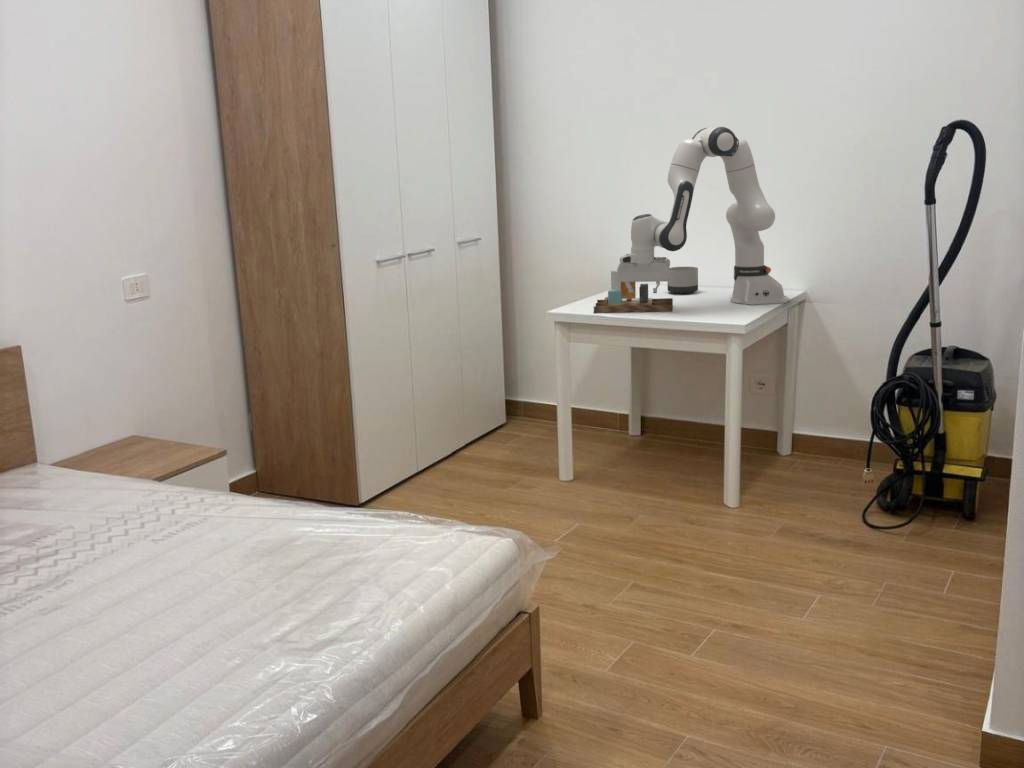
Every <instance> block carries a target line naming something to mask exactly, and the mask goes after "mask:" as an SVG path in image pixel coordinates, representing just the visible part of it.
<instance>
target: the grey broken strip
mask: <svg viewBox="0 0 1024 768" xmlns="http://www.w3.org/2000/svg"><path fill="white" fill-rule="evenodd" d="M639 287H647V290H648V291H649V283H640V285H639ZM652 299H653V297H648V301H652ZM634 301H640V297H636V298H632V300H631V302H634ZM622 302H627V298H623V299H622Z"/></svg>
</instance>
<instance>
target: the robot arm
mask: <svg viewBox="0 0 1024 768" xmlns="http://www.w3.org/2000/svg"><path fill="white" fill-rule="evenodd" d="M707 157H708V158H709V157H710V158H715V157H720V158H721V160H722V162H723V165H724V170H725V175H726V179H727V183H728V184H727V185H728V187H729V188H728V189H729V191H730V193H731V194H732V195H733V197H734V198H735V200H736V201H735V202H734V203H732V204H731V205H729V207H728V208H727V209H726V212H725V218H726V221H727V223H728V224H729V226H730V229H731V232H732V237H733V242H734V261H735V262H734V266H733V280H734V282H733V290H732V296H731V299H730V301H731V302H732V303H737V304H744V305H753V306H754V305H768V304H769V305H770V304H786V303H789V302H790V298H789V296H788V295H785V294H784V288H783V285H782V284H781V283H780V282H779V281H778V280H776V278H774V277H772V276H771V275H770V273H771V271H772V268H771V267H768V266H767V265H765V245H764V242H763V241H762V239H761V236H760V232H762V231H765V230H768V229H771V227H772V226H773V225H774V223H775V220H776V212H775V210H774V209H773V208H772V206H770V203H768V201H767V199H766V197H765V194H764V193H763V191H762V189H761V186H760V183H759V180H758V178H759V177H758V174H757V170H756V166H755V161H754V156H753V154H752V150H751V147H750V145H749V144H748V142H747V140H746V139H744V138H741V137H737V136H736V135H735V133H734V132H733V130H731V129H730V128H729V127H725V126H711V127H703V128H702V129H700V130H698V131H697V132H696V133H695V134H694V135H693V136H692V138H685V139H684V138H683V140H681V141H680V142H679V144H678V145H677V148H676V150H675V152H674V154H673V157H672V159H671V161H670V165H669V169H668V173H667V183H668V186H669V187H670V189H671V191H672V194H673V196H674V199H673V205H672V209H671V213H670V218H669V220H668V222H666V221H663V220H661V219H659V218H657V217H655V216H654V215H653V214H651V213H650V214H649V213H646V214H644V213H643V214H641V215H636V216H635V217H634V218H633V219H632V221H631V227H630V228H631V229H630V230H631V231H630V241H631V248H630V252H629V253H626V254H624V255H621V256H620V257H619V264H618V266H617V269H616V270H617V276H616V280H617V281H618V282H626V286H627V288H628V289H629V294H630V293H632V292H633V291H632V288H630V287H629V282H635V283H636V282H637V283H639V282H640V283H641V282H646V283H647V282H648V283H650V282H651V283H652V282H653V283H654V282H655V285H656V286H655V287H653V288H652V294H658V288H659V286H660V284H661V282H667V281H668V280H669V270H668V268H671V267H670V266H671V261H670V259H669V258H668V257H666V256H662V257H660V256H655V247H659V248H661V249H665V250H667V251H669V252H676V251H679V250H681V249H682V248H683V247H684V246H685V245H686V242H687V238H688V234H687V233H688V232H687V224H688V219H689V214H690V210H691V205H692V201H693V197H694V191H695V190H694V189H695V186H696V183H697V179H698V176H699V173H700V170H701V166H702V164H703V162H704V160H705V159H706V158H707Z"/></svg>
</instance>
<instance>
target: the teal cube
mask: <svg viewBox="0 0 1024 768" xmlns="http://www.w3.org/2000/svg"><path fill="white" fill-rule="evenodd" d="M607 297H608V304H621V303H622V289H612V290H611V289H608V290H607Z"/></svg>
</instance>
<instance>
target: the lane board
mask: <svg viewBox="0 0 1024 768" xmlns="http://www.w3.org/2000/svg"><path fill="white" fill-rule="evenodd" d="M631 300H632V299H627V302H631ZM673 300H674V299H673V297H670V298H668V297H667V298H652V305H646V306H604V299H596V302H595V305H594V306H593V314H623V313H624V314H625V313H628V314H630V313H631V314H632V313H672V312H673V307H674V306H673V305H674V301H673Z"/></svg>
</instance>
